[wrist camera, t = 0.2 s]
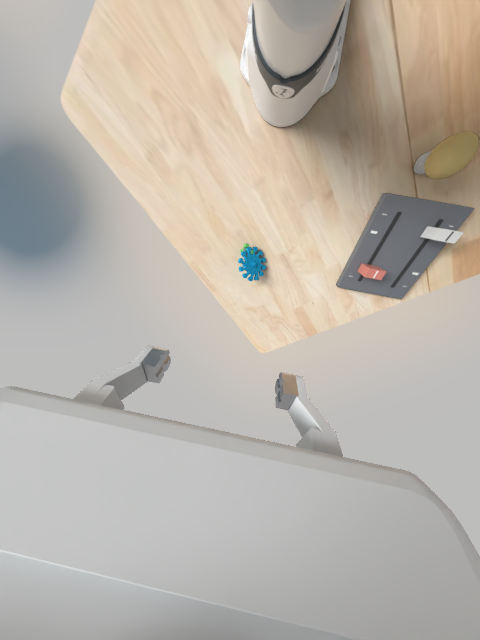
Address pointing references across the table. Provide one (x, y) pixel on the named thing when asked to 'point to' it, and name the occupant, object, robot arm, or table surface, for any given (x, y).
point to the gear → (251, 262)
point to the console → (399, 243)
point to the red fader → (371, 271)
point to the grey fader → (441, 234)
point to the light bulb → (448, 156)
